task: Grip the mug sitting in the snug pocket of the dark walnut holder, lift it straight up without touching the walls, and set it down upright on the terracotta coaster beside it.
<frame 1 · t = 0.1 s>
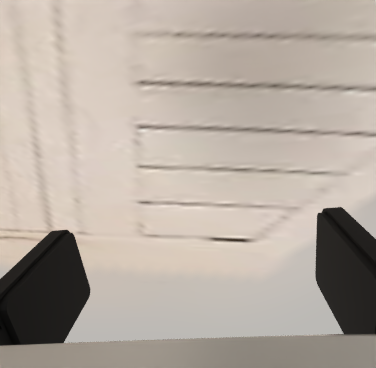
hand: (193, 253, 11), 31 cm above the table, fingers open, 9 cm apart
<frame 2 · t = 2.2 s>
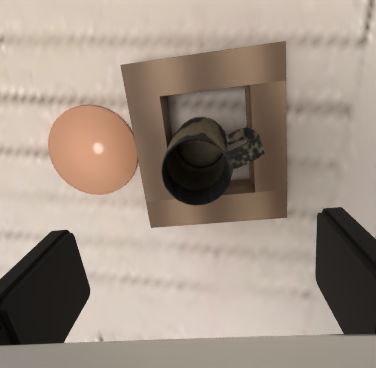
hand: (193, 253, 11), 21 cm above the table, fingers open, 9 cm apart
holder: (209, 138, 30), on the table
coaster: (94, 151, 31), on the table
mug: (209, 138, 30), resting in holder
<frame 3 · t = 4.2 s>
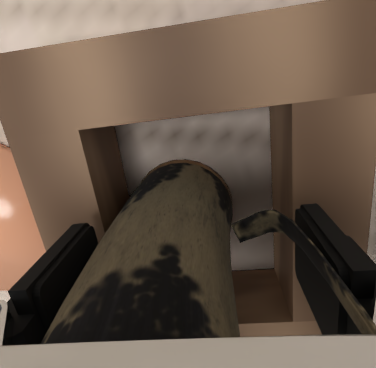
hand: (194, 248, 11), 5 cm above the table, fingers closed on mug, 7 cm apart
holder: (199, 199, 16), on the table
mug: (199, 197, 16), resting in holder, touching gripper
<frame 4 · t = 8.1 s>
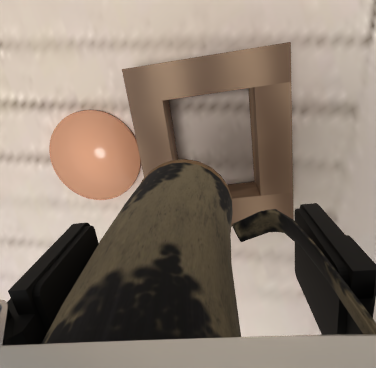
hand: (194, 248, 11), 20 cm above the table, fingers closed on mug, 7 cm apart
holder: (213, 141, 29), on the table
coaster: (96, 156, 31), on the table
mug: (199, 197, 16), point 15 cm above the table, touching gripper
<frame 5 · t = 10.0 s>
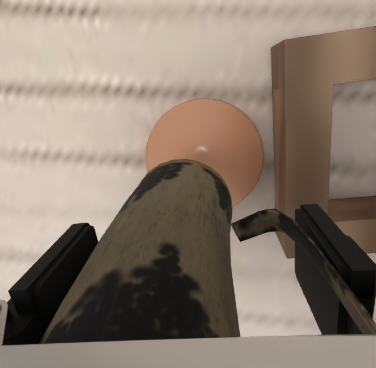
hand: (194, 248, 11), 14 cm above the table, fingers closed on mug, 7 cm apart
holder: (361, 141, 23), on the table
coaster: (203, 158, 24), on the table
mug: (199, 196, 16), point 9 cm above the table, touching gripper
when the fingers open (7 cm above the table, at t = 11.9 s): mug drops 1 cm, resting on coaster.
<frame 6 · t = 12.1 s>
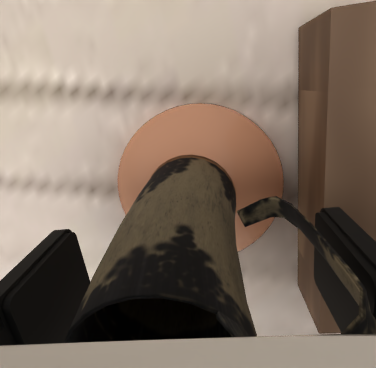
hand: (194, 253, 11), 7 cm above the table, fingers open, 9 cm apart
coaster: (199, 186, 17), on the table
mug: (205, 190, 17), resting on coaster
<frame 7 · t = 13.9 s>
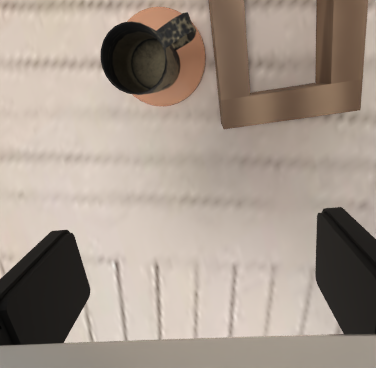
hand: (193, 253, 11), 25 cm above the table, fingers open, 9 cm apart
holder: (278, 40, 30), on the table
coaster: (160, 59, 31), on the table
mug: (163, 60, 31), resting on coaster
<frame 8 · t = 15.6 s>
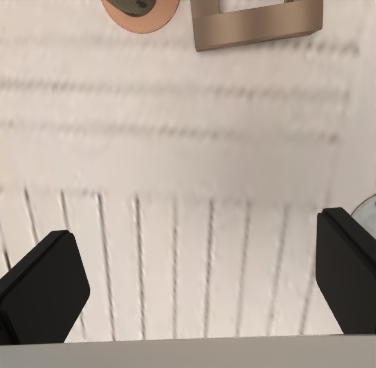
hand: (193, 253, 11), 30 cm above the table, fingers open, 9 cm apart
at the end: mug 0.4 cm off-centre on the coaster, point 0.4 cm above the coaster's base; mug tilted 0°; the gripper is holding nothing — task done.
